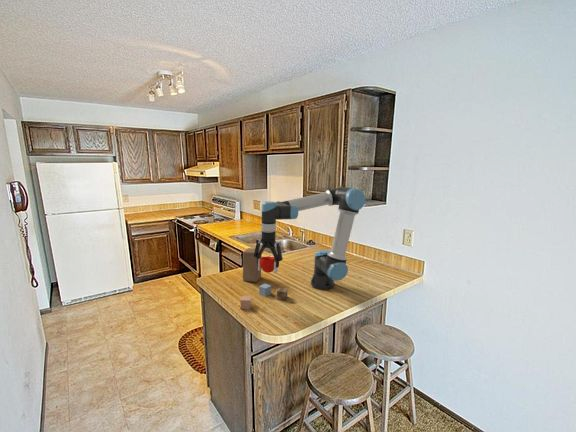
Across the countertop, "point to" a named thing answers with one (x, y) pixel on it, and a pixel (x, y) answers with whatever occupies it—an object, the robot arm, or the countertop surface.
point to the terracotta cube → (246, 302)
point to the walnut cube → (282, 293)
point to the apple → (267, 263)
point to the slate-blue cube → (265, 289)
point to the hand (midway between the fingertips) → (267, 271)
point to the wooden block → (250, 266)
